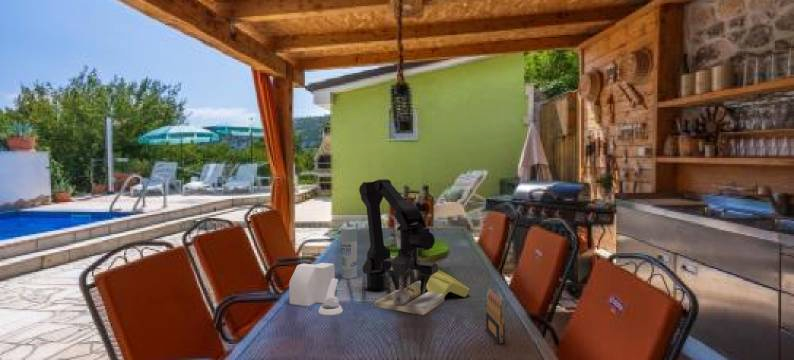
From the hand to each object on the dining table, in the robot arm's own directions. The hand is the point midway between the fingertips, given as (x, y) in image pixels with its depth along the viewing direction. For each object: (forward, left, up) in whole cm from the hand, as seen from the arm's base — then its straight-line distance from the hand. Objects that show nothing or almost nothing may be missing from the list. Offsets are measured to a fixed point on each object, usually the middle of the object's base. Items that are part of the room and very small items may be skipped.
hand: (409, 291), depth 164 cm
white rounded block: (-31, -12, -4) cm, 34 cm away
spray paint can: (-38, +20, -4) cm, 43 cm away
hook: (-19, -18, -4) cm, 27 cm away
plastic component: (+5, +18, -4) cm, 20 cm away
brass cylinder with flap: (-2, 0, -3) cm, 3 cm away
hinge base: (0, 0, -4) cm, 4 cm away
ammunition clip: (+34, -15, -4) cm, 37 cm away
